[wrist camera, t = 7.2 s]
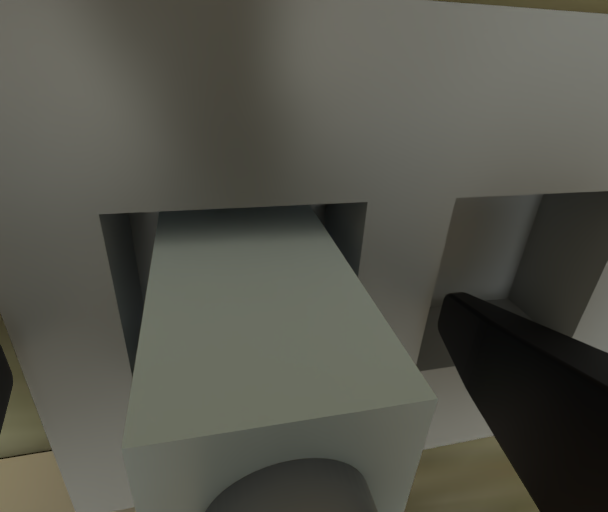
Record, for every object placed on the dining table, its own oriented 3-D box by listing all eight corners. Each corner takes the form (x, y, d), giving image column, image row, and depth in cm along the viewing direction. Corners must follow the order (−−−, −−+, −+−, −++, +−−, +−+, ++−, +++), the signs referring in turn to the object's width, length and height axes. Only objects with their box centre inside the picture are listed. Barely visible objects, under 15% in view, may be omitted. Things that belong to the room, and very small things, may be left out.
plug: (295, 302, 12) (427, 652, 6) (174, 313, 12) (153, 739, 5) (301, 193, 11) (503, 497, 4) (161, 196, 10) (98, 590, 3)
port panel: (512, 351, 17) (585, 426, 14) (101, 411, 14) (75, 530, 11) (635, 26, 12) (805, 27, 8) (-15, -18, 8) (-151, -47, 5)
